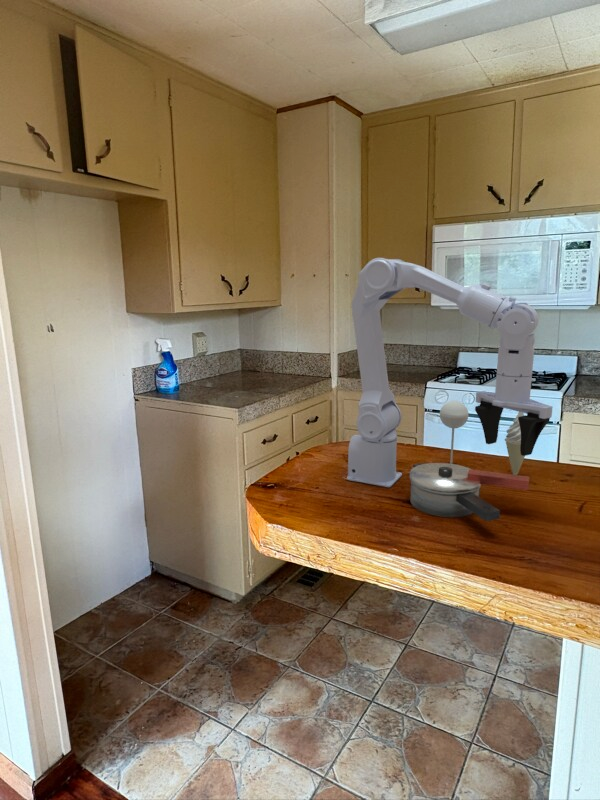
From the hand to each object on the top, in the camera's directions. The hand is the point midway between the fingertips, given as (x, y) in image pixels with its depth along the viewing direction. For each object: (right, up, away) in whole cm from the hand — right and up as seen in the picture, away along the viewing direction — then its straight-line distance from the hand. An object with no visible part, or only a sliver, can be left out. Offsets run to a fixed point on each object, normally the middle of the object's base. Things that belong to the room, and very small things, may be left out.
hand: (508, 448), depth 95 cm
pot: (-10, -11, 0) cm, 15 cm away
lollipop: (-5, -6, +20) cm, 22 cm away
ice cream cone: (+7, -8, +14) cm, 17 cm away
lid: (-7, -6, 0) cm, 10 cm away
